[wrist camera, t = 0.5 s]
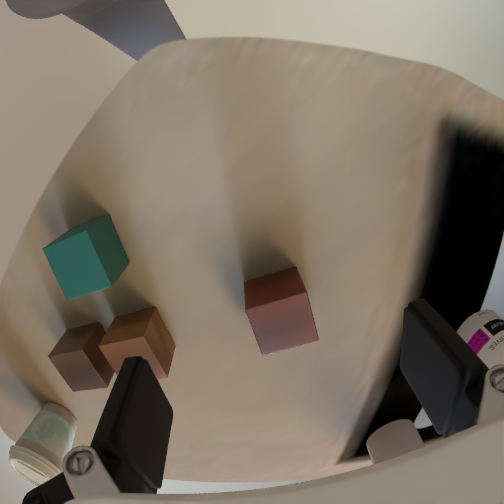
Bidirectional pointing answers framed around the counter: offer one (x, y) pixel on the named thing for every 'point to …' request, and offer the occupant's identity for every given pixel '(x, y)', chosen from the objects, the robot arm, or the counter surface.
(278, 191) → the counter surface
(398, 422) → the travel mug
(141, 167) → the counter surface
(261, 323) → the dark cherry block
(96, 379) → the walnut block
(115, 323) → the oak block
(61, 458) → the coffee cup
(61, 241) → the teal block
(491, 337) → the supplement can
